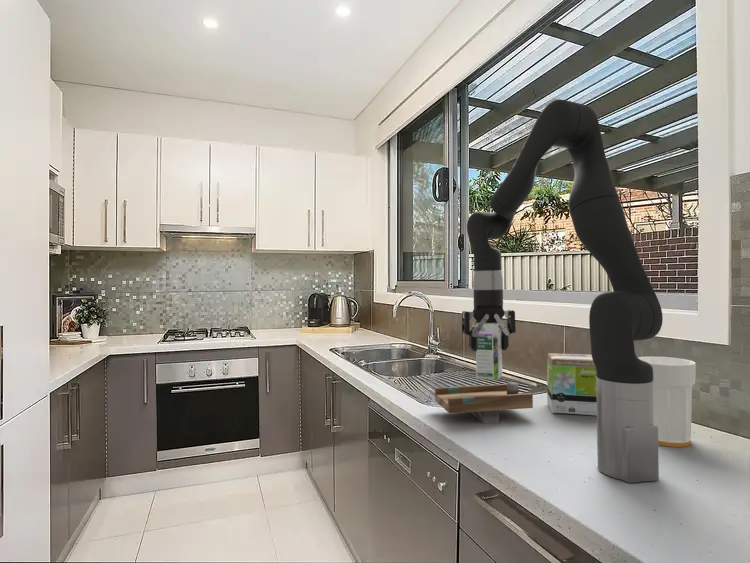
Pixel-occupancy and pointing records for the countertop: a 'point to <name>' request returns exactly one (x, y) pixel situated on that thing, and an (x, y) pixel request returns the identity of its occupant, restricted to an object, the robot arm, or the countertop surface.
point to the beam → (483, 400)
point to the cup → (672, 398)
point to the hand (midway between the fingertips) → (488, 350)
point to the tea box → (571, 384)
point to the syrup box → (489, 352)
